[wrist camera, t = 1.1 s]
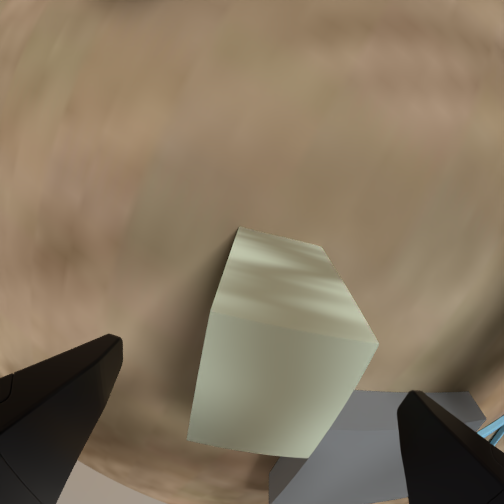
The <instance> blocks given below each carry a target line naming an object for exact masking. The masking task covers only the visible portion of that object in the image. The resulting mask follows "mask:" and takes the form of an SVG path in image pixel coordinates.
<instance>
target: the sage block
mask: <svg viewBox="0 0 504 504" xmlns="http://www.w3.org/2000/svg"><path fill="white" fill-rule="evenodd" d="M378 345H379V343H378V341H377V339H376V337H375V335H374V334H373V332H372V330H371V328H370V327H369V325H368V323H367V321H366V320H365V318H364V316H363V314H362V313H361V311H360V309H359V308H358V306H357V304H356V302H355V301H354V299H353V297H352V296H351V294H350V292H349V291H348V289H347V287H346V286H345V284H344V282H343V281H342V279H341V277H340V276H339V274H338V272H337V271H336V269H335V268H334V266H333V264H332V263H331V261H330V260H329V258H328V256H327V255H326V253H325V252H324V250H323V248H322V247H321V246H317V245H313V244H309V243H305V242H301V241H297V240H293V239H289V238H285V237H281V236H277V235H273V234H269V233H265V232H260V231H256V230H252V229H248V228H244V227H240V226H239V229H238V231H237V234H236V237H235V240H234V243H233V246H232V249H231V252H230V255H229V257H228V260H227V263H226V266H225V269H224V272H223V275H222V278H221V281H220V284H219V287H218V290H217V293H216V296H215V299H214V301H213V304H212V307H211V310H210V315H209V320H208V325H207V330H206V335H205V340H204V346H203V351H202V356H201V361H200V367H199V372H198V377H197V383H196V388H195V394H194V400H193V405H192V411H191V417H190V423H189V429H188V435H187V440H188V441H192V442H196V443H201V444H205V445H210V446H215V447H220V448H225V449H231V450H236V451H243V452H249V453H256V454H264V455H273V456H283V457H294V458H309V457H310V455H311V454H312V453H313V451H314V450H315V448H316V447H317V446H318V444H319V443H320V441H321V440H322V439H323V437H324V436H325V434H326V433H327V431H328V430H329V429H330V427H331V426H332V424H333V423H334V421H335V420H336V418H337V416H338V415H339V413H340V412H341V410H342V409H343V407H344V405H345V404H346V402H347V401H348V399H349V397H350V396H351V394H352V392H353V391H354V389H355V387H356V386H357V384H358V382H359V380H360V379H361V377H362V375H363V373H364V372H365V370H366V368H367V366H368V364H369V363H370V361H371V359H372V357H373V355H374V353H375V351H376V349H377V347H378Z"/></svg>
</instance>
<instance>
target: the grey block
mask: <svg viewBox="0 0 504 504" xmlns="http://www.w3.org/2000/svg"><path fill="white" fill-rule="evenodd" d="M407 394H408V393H404V392H378V391H362V390H354V391H353V392H352V394H351V396H350V397H349V399H348V401H347V402H346V404H345V405H344V407H343V409H342V410H341V412H340V413H339V415H338V416H337V418H336V420H335V421H334V423H333V424H332V426H331V427H330V429H329V430H328V431H327V433H326V434H325V436H324V437H323V439H322V440H321V441H320V443H319V444H318V446H317V447H316V448H315V450H314V451H313V453H312V454H311V455H310V457H309V458H294V457H283V456H280V458H279V459H278V461H277V462H276V464H275V466H274V467H273V469H272V470H271V472H270V473H269V504H369V503H377V502H383V501H389V500H395V499H400V498H405V497H408V492H407V486H406V479H405V473H404V468H403V462H402V457H401V450H400V441H399V430H398V421H397V409H398V407H399V405H400V404H401V402H402V401H403V400H404V398H405V397H406V395H407ZM425 394H426V395H427V396H429V397H430V398H431V399H433V400H434V401H435V402H437V403H438V404H439V405H441V406H442V407H443V408H445V409H446V410H447V411H449V412H450V413H451V414H452V415H454V416H455V417H456V418H458V419H459V420H460V421H462V422H463V423H464V424H466V425H467V426H468V427H470V428H471V429H472V430H474V431H475V432H476V431H477V430H478V429H479V428H480V426H481V425H482V424H483V423H484V422H485V420H486V417H485V416H484V414H483V413H482V411H481V410H480V408H479V407H478V405H477V404H476V402H475V401H474V399H473V398H472V396H471V395H470V393H469V392H468V391H467V392H442V393H425Z"/></svg>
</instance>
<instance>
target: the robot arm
mask: <svg viewBox="0 0 504 504" xmlns="http://www.w3.org/2000/svg"><path fill="white" fill-rule="evenodd" d="M122 362H123V341H122V339H121V338H120V337H118V336H115V335H112V334H106V335H104V336H102V337H99V338H97V339H95V340H92V341H90V342H87V343H85V344H83V345H80V346H78V347H75V348H73V349H71V350H68V351H66V352H63V353H61V354H59V355H56V356H54V357H51V358H49V359H46V360H44V361H42V362H39V363H37V364H34V365H32V366H29V367H27V368H24V369H22V370H19V371H17V372H15V373H14V374H9V375H7V376H4V377H2V378H0V504H56V503H57V500H58V498H59V496H60V494H61V492H62V490H63V488H64V485H65V483H66V481H67V479H68V477H69V475H70V473H71V471H72V469H73V467H74V465H75V463H76V461H77V459H78V457H79V455H80V453H81V451H82V450H83V448H84V446H85V444H86V442H87V440H88V438H89V436H90V434H91V432H92V430H93V429H94V427H95V425H96V423H97V421H98V419H99V417H100V416H101V414H102V412H103V410H104V408H105V406H106V403H107V401H108V398H109V396H110V393H111V391H112V388H113V386H114V383H115V381H116V378H117V376H118V374H119V371H120V369H121V366H122ZM397 421H398V430H399V441H400V450H401V457H402V462H403V468H404V473H405V479H406V486H407V492H408V499H409V504H504V453H503V452H502V451H501V450H499V449H498V448H496V447H495V446H494V445H492V444H491V443H489V442H488V441H487V440H486V439H484V438H483V437H482V436H480V435H479V434H478V433H476V432H475V431H474V430H472V429H471V428H470V427H468V426H467V425H466V424H464V423H463V422H462V421H460V420H459V419H458V418H456V417H455V416H454V415H452V414H451V413H450V412H449V411H447V410H446V409H445V408H443V407H442V406H441V405H439V404H438V403H437V402H435V401H434V400H433V399H431V398H430V397H429V396H427V395H426V394H425V393H424V392H422V391H418V390H412V391H410V392H409V393H408V394H407V395H406V397H405V398H404V400H403V401H402V402H401V404H400V405H399V407H398V409H397Z"/></svg>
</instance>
